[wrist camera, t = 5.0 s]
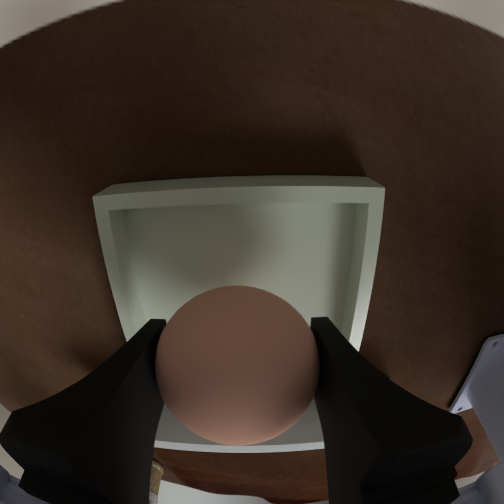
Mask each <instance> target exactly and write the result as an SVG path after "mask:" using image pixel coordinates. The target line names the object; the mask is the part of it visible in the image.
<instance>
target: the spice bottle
mask: <svg viewBox="0 0 504 504" xmlns="http://www.w3.org/2000/svg"><path fill="white" fill-rule="evenodd" d="M163 472H164V471H163V468H162V466H161V465H160V464H159V463H158V462H157V461H155V460H153V459H152V467H151V478H150V492H149V504H157V502H158V491H159V486H160V480H161V476H162V475H163Z"/></svg>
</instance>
